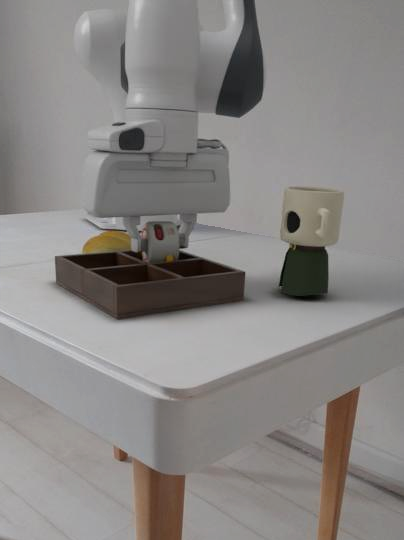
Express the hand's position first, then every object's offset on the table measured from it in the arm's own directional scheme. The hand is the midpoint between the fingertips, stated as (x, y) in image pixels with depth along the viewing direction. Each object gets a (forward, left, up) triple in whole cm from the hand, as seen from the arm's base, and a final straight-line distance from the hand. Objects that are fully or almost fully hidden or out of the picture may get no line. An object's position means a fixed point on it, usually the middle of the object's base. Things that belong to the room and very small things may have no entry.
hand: (159, 249), depth 74 cm
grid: (+4, -4, -4) cm, 7 cm away
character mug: (+14, +13, -4) cm, 20 cm away
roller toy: (0, 0, -2) cm, 2 cm away
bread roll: (-16, +1, -4) cm, 17 cm away
